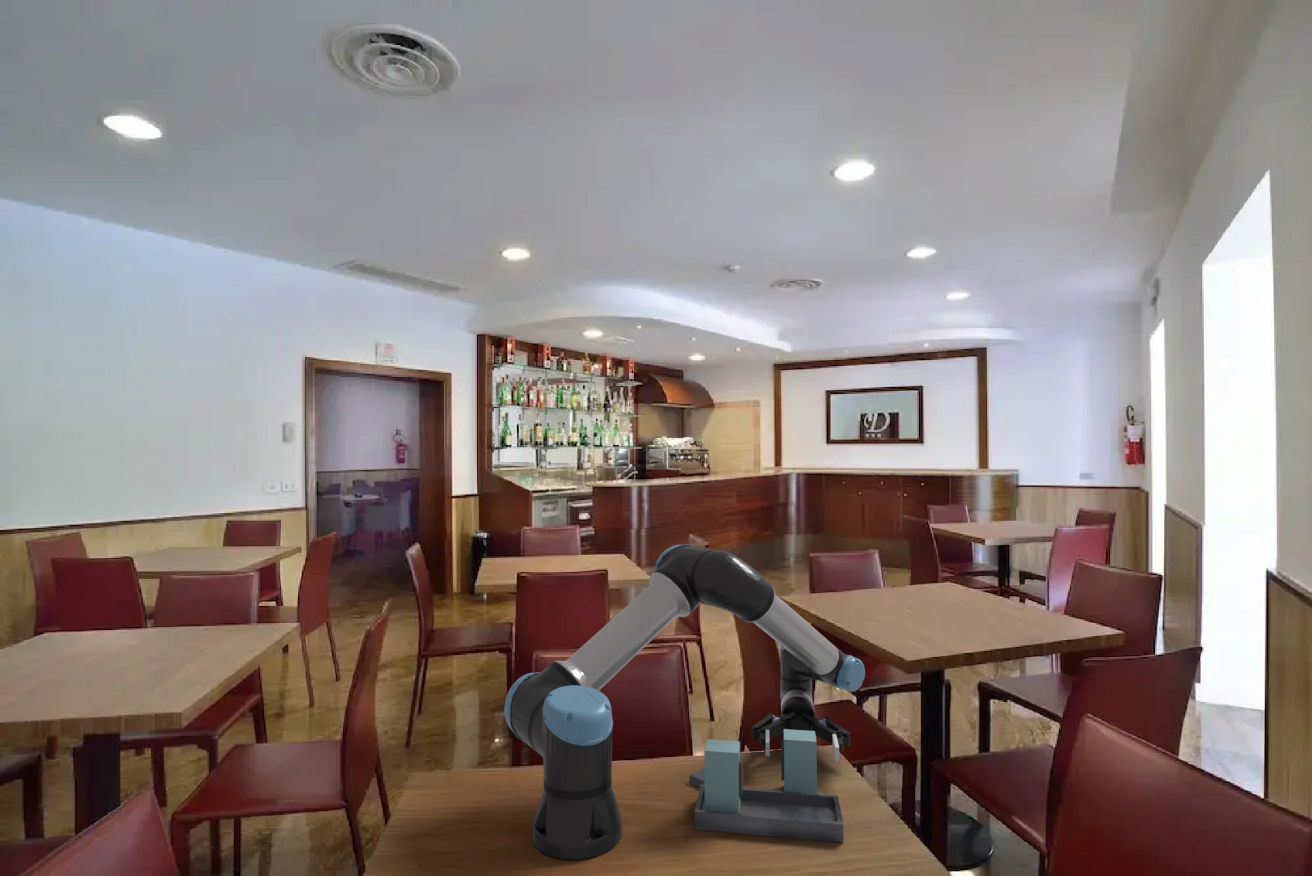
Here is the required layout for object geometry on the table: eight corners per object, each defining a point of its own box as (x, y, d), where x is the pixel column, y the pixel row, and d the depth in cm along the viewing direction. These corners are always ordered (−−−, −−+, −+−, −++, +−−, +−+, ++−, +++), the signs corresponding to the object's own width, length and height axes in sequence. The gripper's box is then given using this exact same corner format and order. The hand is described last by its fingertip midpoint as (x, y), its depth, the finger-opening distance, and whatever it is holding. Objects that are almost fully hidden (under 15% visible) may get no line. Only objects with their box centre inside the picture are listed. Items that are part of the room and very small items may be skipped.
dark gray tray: (694, 829, 118) (694, 811, 118) (700, 800, 128) (700, 784, 128) (843, 842, 114) (843, 824, 114) (838, 811, 124) (837, 795, 124)
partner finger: (704, 813, 121) (704, 750, 121) (707, 799, 125) (707, 739, 126) (741, 816, 119) (741, 753, 120) (743, 802, 124) (742, 741, 125)
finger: (781, 798, 129) (781, 739, 129) (781, 785, 134) (781, 728, 134) (817, 800, 128) (816, 741, 128) (815, 788, 133) (815, 730, 133)
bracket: (688, 784, 135) (688, 774, 135) (722, 767, 143) (722, 757, 143) (703, 791, 133) (703, 781, 133) (737, 773, 140) (737, 763, 140)
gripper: (854, 732, 155) (867, 775, 134) (743, 725, 159) (739, 765, 138) (853, 698, 155) (866, 736, 134) (743, 692, 159) (739, 728, 138)
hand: (802, 751), depth 136 cm, fingers open, 13 cm apart
